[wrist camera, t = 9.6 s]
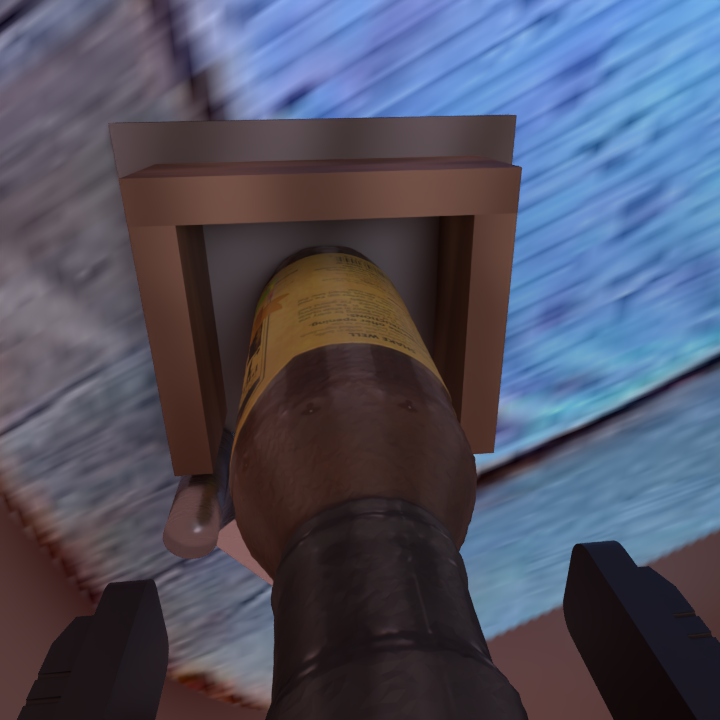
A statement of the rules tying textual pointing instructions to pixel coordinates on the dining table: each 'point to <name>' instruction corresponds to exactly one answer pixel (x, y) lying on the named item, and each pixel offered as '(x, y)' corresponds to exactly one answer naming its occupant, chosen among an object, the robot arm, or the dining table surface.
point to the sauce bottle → (359, 504)
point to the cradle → (315, 229)
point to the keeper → (208, 515)
